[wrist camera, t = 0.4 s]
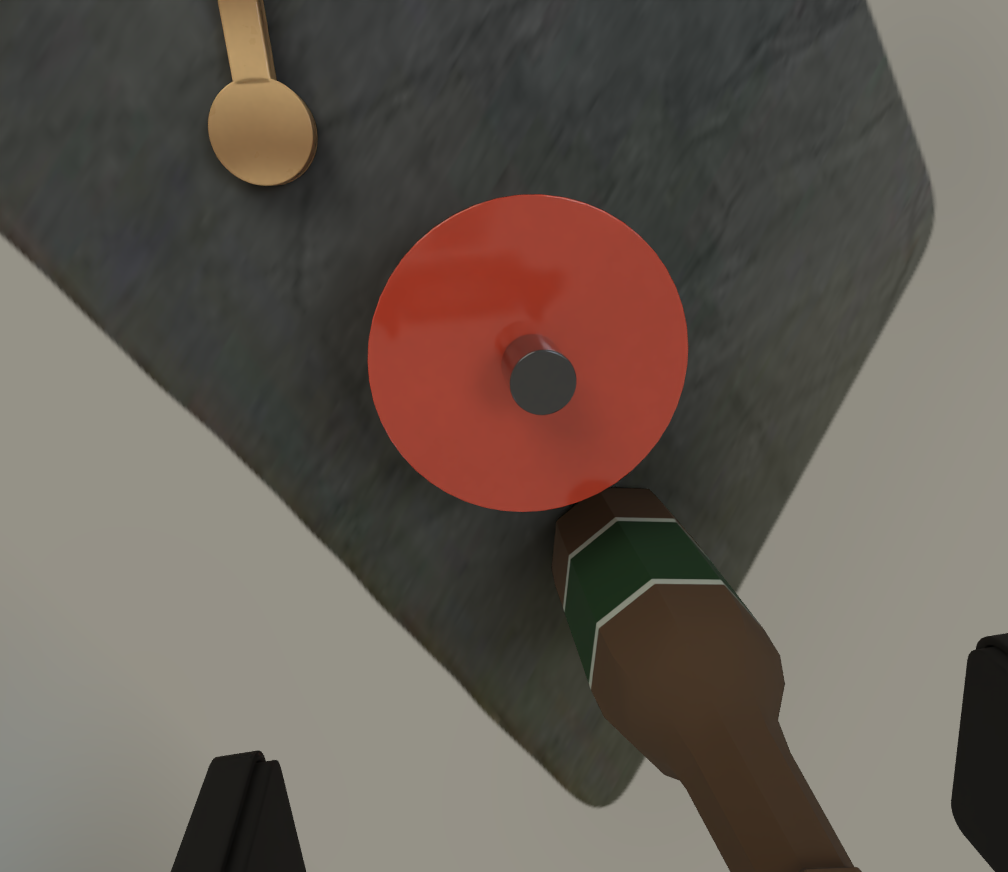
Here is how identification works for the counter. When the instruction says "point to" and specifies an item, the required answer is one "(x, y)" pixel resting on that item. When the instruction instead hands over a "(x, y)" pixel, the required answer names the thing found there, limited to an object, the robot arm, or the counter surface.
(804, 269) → the counter surface
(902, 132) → the counter surface
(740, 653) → the beer bottle
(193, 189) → the counter surface
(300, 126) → the spoon
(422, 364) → the pot lid
